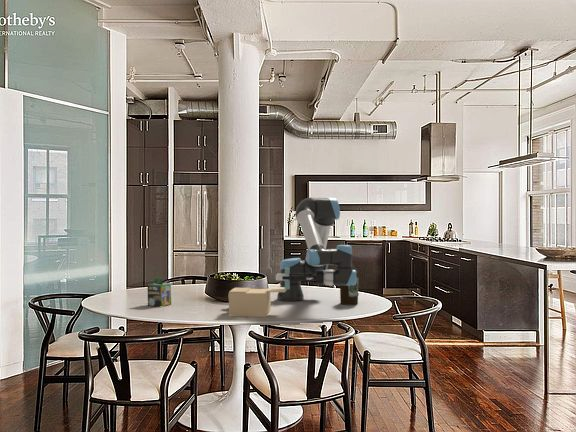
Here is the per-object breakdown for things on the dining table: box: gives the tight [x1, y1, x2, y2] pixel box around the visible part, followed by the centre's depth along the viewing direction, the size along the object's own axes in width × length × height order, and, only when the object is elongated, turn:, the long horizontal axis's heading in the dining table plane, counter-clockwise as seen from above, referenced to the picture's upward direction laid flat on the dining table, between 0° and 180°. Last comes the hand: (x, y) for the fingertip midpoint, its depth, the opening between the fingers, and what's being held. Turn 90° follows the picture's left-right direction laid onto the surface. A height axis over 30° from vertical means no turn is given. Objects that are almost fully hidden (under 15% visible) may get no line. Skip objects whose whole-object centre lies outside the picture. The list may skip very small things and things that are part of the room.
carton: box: [227, 287, 271, 318], centre depth 275 cm, size 16×18×12 cm
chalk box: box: [146, 277, 172, 307], centre depth 300 cm, size 9×9×15 cm
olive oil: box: [339, 264, 360, 306], centre depth 306 cm, size 11×11×25 cm
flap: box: [266, 268, 290, 293], centre depth 273 cm, size 14×10×11 cm
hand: (276, 276), depth 274 cm, fingers closed on flap, 5 cm apart
